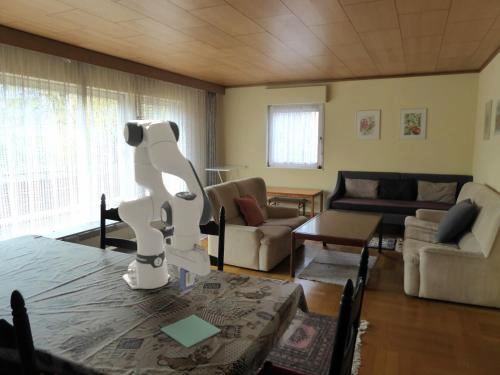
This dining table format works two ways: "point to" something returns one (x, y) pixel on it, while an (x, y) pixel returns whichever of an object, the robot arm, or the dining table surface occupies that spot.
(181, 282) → the block
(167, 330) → the mat
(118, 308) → the dining table surface
